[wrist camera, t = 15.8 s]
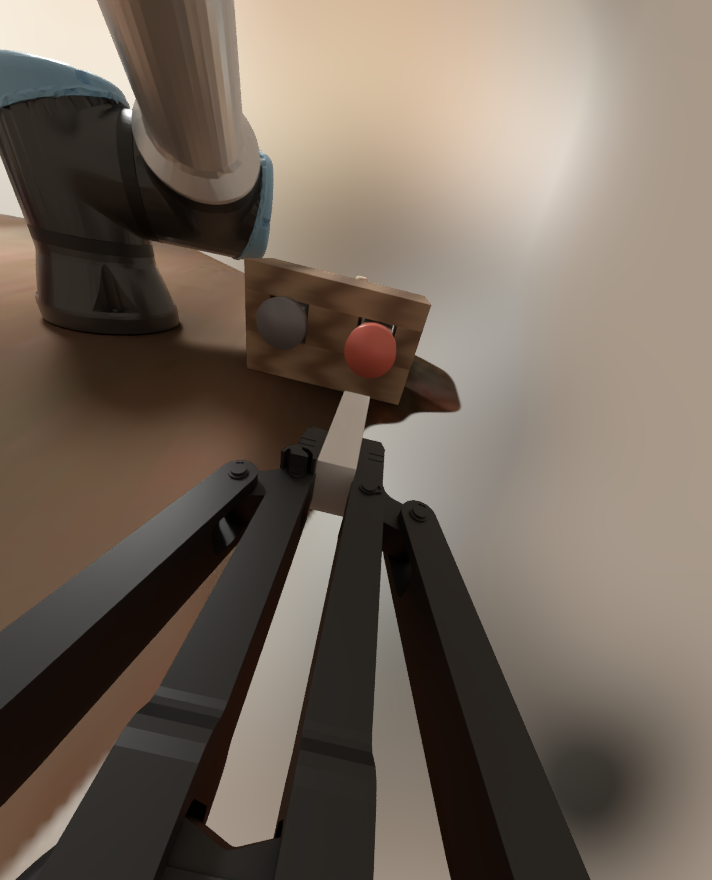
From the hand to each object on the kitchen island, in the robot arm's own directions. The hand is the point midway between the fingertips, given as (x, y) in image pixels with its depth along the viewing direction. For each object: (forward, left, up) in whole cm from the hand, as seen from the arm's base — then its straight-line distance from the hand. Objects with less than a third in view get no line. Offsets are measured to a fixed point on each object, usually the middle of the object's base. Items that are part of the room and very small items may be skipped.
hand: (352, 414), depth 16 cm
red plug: (0, +20, -3) cm, 20 cm away
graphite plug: (-10, +22, -3) cm, 24 cm away
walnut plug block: (-5, +22, -7) cm, 24 cm away
